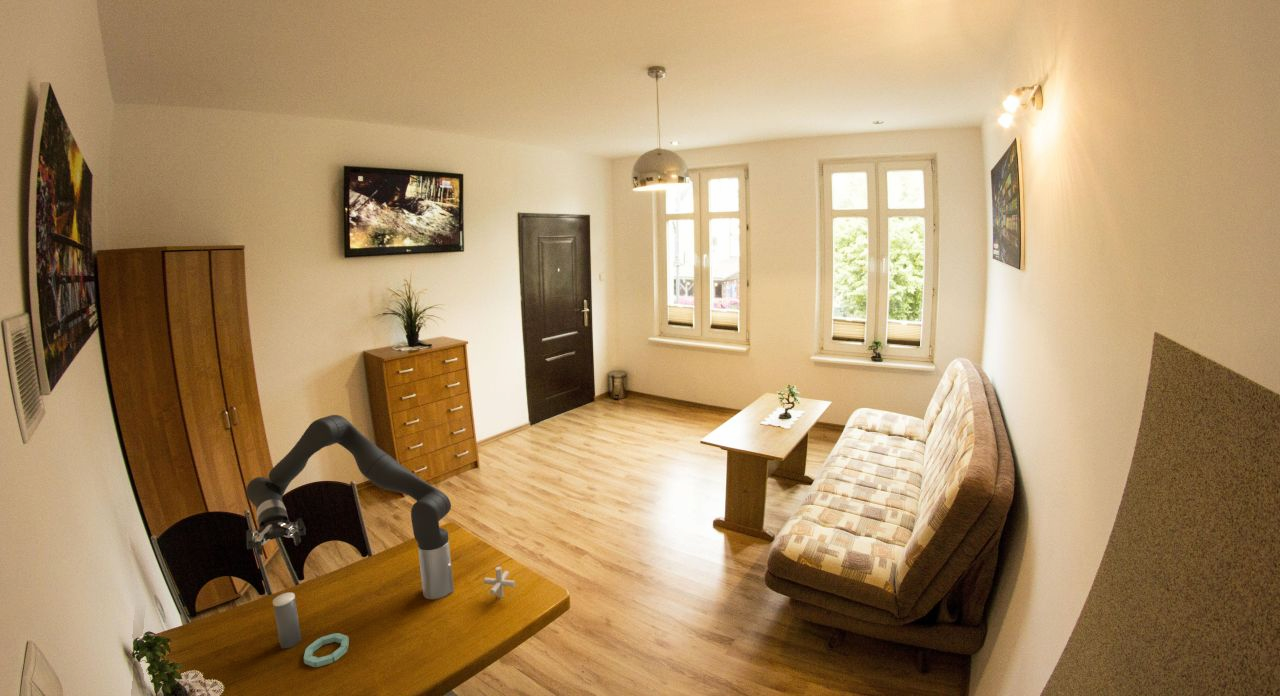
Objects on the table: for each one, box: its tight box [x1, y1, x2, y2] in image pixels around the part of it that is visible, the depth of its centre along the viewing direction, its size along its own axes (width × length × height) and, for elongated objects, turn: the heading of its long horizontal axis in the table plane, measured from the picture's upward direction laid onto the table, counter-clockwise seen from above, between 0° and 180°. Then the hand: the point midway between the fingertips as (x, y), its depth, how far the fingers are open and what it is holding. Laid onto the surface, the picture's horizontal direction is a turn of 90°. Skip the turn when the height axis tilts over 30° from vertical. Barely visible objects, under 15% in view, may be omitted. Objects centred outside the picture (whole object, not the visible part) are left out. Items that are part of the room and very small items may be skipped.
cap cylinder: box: [272, 591, 302, 650], centre depth 148 cm, size 5×5×14 cm
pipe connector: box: [483, 566, 516, 599], centre depth 167 cm, size 10×10×10 cm
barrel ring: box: [303, 632, 350, 668], centre depth 145 cm, size 10×10×2 cm
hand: (279, 547), depth 150 cm, fingers open, 8 cm apart
